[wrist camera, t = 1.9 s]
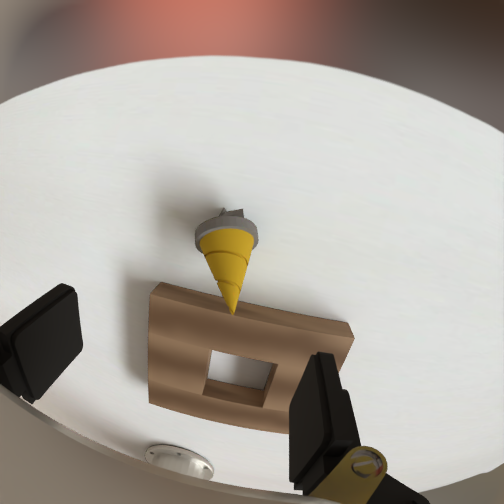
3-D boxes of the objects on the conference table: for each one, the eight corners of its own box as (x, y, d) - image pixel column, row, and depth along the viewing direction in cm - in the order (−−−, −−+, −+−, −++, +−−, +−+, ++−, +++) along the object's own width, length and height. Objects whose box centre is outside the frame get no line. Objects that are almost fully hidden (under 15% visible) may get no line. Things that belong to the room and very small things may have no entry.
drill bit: (265, 202, 26) (282, 309, 21) (228, 229, 29) (236, 325, 25) (219, 180, 23) (227, 299, 18) (184, 212, 26) (184, 319, 21)
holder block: (303, 419, 33) (304, 435, 30) (156, 388, 33) (148, 402, 30) (348, 322, 28) (354, 338, 25) (161, 281, 29) (150, 293, 26)
